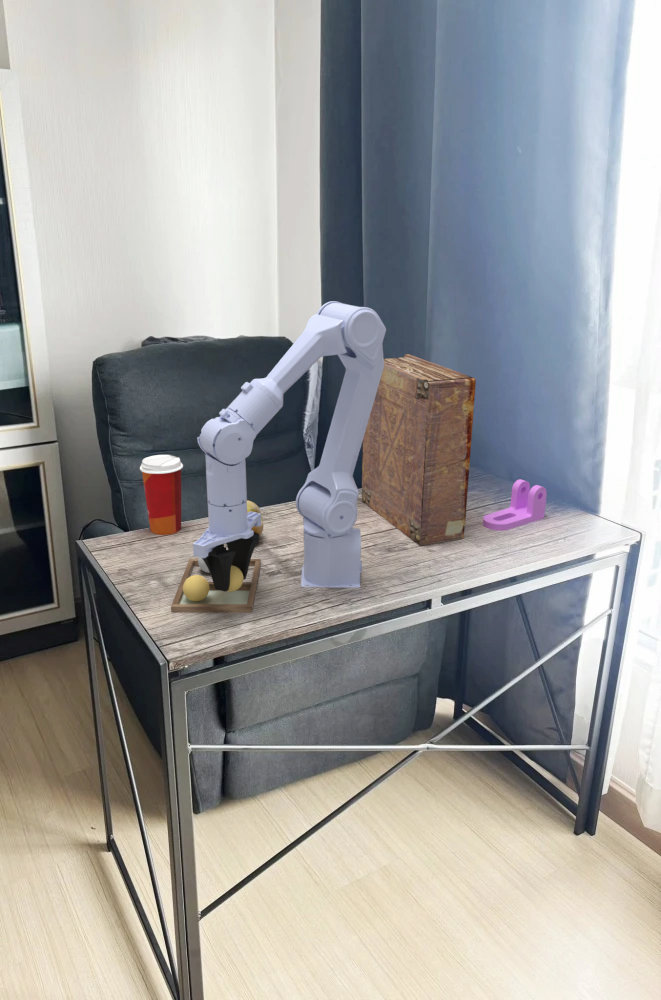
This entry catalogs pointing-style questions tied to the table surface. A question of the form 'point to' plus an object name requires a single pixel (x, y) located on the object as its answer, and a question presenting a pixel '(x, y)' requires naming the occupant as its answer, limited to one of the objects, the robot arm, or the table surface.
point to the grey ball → (203, 565)
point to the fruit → (255, 508)
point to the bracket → (519, 508)
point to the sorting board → (218, 595)
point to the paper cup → (163, 493)
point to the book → (420, 449)
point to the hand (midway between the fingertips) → (230, 583)
